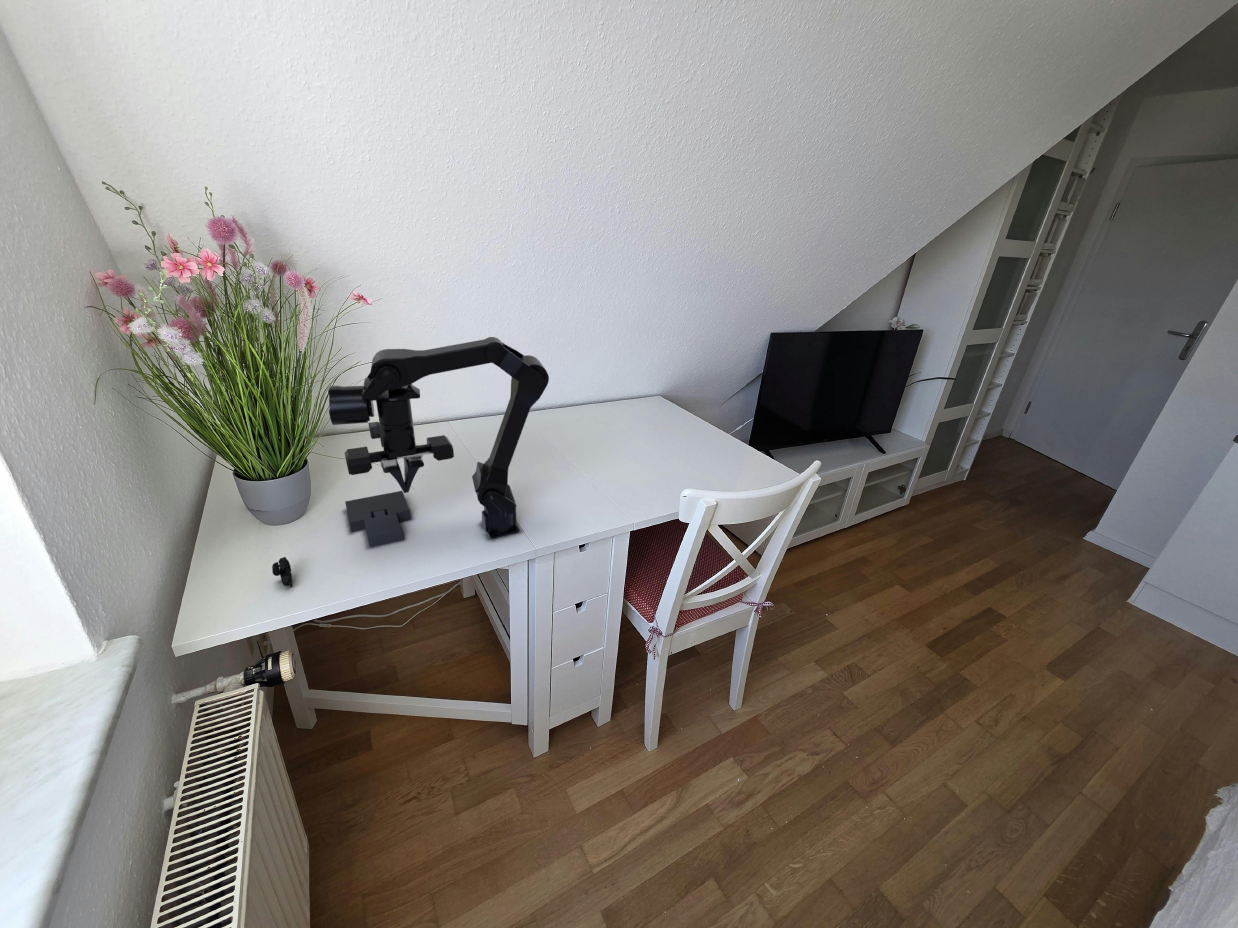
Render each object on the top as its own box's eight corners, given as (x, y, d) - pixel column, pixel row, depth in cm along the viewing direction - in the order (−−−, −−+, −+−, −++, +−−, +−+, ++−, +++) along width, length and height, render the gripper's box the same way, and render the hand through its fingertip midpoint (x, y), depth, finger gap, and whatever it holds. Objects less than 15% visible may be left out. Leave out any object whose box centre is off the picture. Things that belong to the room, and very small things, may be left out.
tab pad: (395, 516, 114) (394, 507, 113) (403, 539, 107) (401, 530, 106) (364, 523, 111) (362, 513, 110) (369, 547, 104) (368, 537, 103)
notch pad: (403, 499, 121) (402, 490, 120) (410, 519, 114) (409, 510, 113) (347, 510, 115) (345, 501, 114) (351, 532, 108) (349, 522, 107)
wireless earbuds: (294, 592, 92) (287, 571, 89) (277, 597, 91) (270, 575, 88) (292, 570, 97) (286, 548, 95) (276, 573, 96) (269, 552, 93)
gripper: (437, 399, 105) (444, 465, 112) (335, 410, 96) (349, 481, 103) (451, 419, 97) (457, 489, 104) (341, 434, 88) (355, 509, 95)
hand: (406, 491), depth 102 cm, fingers closed
